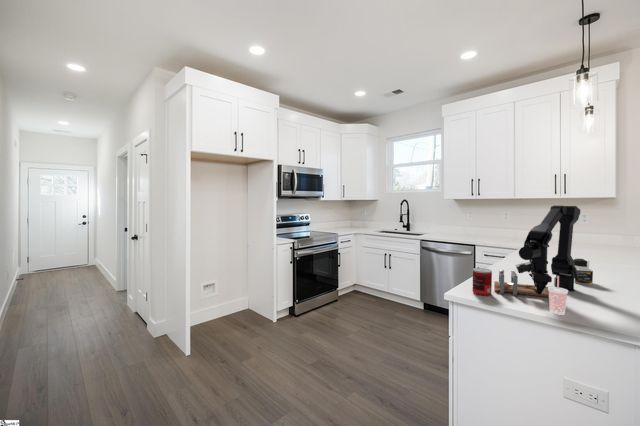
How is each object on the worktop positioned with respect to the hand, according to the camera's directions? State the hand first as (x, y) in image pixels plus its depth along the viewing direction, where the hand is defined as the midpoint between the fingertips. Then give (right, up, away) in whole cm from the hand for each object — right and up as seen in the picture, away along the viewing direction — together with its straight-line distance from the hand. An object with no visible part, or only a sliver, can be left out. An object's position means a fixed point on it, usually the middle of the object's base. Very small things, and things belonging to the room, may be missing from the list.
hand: (538, 292), depth 132 cm
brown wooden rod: (-6, -1, +3) cm, 6 cm away
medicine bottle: (+37, 0, +20) cm, 42 cm away
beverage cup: (-7, -3, -19) cm, 20 cm away
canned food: (-23, -2, +4) cm, 23 cm away
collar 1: (-12, -1, +7) cm, 14 cm away
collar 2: (-8, -1, +4) cm, 9 cm away
